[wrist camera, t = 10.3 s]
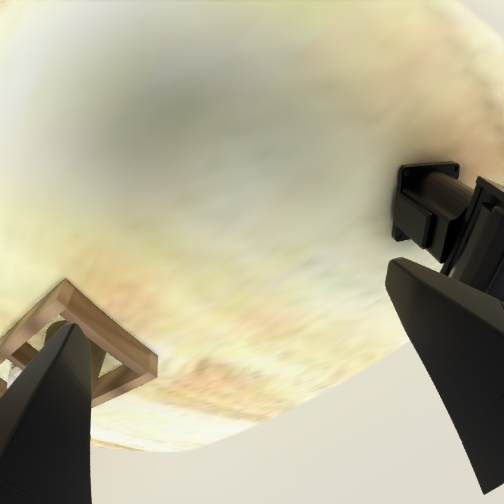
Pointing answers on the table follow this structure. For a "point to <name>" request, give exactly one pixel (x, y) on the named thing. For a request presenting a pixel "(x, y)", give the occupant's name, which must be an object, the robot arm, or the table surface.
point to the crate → (93, 326)
